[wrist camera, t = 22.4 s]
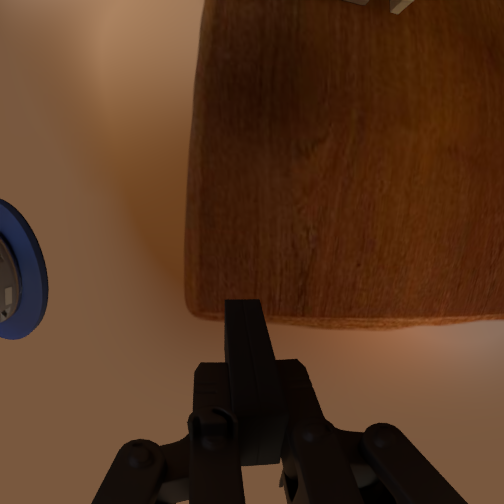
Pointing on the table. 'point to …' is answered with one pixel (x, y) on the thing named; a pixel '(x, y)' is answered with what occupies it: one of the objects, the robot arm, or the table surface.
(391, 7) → the desk
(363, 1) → the wooden block
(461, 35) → the table surface
